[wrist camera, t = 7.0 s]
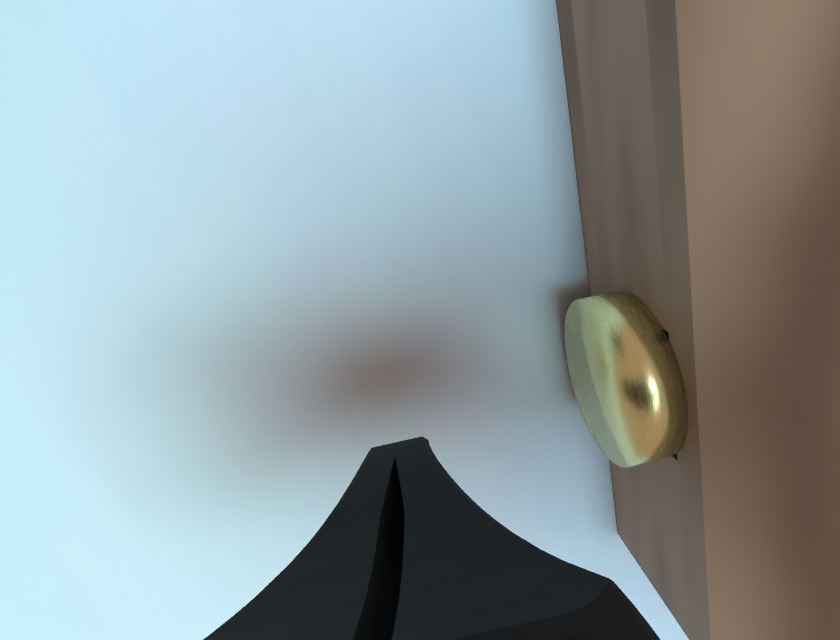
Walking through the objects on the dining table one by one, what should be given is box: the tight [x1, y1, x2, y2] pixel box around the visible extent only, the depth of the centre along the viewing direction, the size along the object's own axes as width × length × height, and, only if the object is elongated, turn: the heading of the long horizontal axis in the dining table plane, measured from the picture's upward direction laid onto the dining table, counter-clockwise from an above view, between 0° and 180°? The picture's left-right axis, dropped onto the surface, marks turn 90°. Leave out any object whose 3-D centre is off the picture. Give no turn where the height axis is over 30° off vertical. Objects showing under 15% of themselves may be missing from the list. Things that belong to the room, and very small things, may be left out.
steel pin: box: [564, 290, 688, 468], centre depth 14 cm, size 9×5×5 cm, turn 102°
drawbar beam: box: [556, 0, 840, 640], centre depth 13 cm, size 7×20×6 cm, turn 12°
